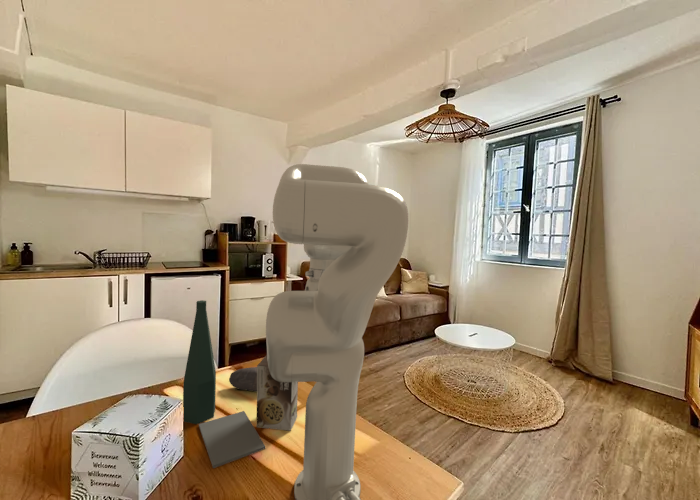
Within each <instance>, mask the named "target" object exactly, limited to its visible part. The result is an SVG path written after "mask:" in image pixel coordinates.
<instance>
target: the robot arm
mask: <svg viewBox="0 0 700 500" xmlns="http://www.w3.org/2000/svg"><path fill="white" fill-rule="evenodd" d="M272 221H273V226H274V230H275V232H276V235H277V236H278V237H279V238H280V240H282V241H284V242H286V243H288V244H294V245H303V250H304V253H305V254H306V255H307V257H309V258H310V259H309V260H310V261H309V269H308V270H307V271H305V277H308V278H309V279H307V281H306V282H305V283H306V284H305V286H304V287H305V289H304V290H286V291H282V292H280V293H278V294H276V295H275V296H273V298H272V300H270V303H269V306H268V307H267V308H268V309H267V312H266V319H265V339H266V341H265V342H266V355H267V360H268V368H269V371H270V374H271V376H272V377H273V378H274V379H275V380H276V381H279V382H291V379H292V382H298V383H306V382H310V383H311V382H315V384H313V385H314V386H312V388H311V390H310V392H309V394H308V395H307V398H306V401H305V402H306V403H305V414H304V416H305V418H304V419H305V420H304V444H303V447H304V448H303V468H302V470H301V471H300V472H299V474H298V475H297V476H296V478H295V481H294V486H293V487H294V489H293V490H294V491H293V493H294V494H293V495H294V500H362V499H361V498H360V497H361V487H362V486H361V481H360V478H359V476H358V474H357V473H356V472H355V471H354V466H355V465H354V464H355V463H354V462H355V461H354V460H355V446H356V445H355V444H356V443H355V440H356V422H357V404H358V402H357V401H358V394H359V393H358V391H359V384H360V377H361V373H362V369H363V364H364V357H365V343H364V339H363V336H364V334H365V332H366V329H367V326H368V324H369V320H370V318H371V313H372V311H373V308H374V306H375V303H376V302H375V301H376V299H377V296H378V295H379V293H380V292H381V290H382V289H383V288H384V286H385V284H386V283H387V281H388V280H389V279H390V277H391V276H392V274H393V273H394V271H395V270H396V268H397V265H398V264H399V262H400V260H401V257H402V255H403V253H404V250H405V246H406V243H407V242H406V241H407V237H408V232H409V231H408V229H409V210H408V206H407V204H406V201H405V199H404V198H403V196H401V195H400V194H399V193H397V192H396V191H394V190H393V189H390V188H387V187H384V186H379V185H375V184H369V182H368V179H367V178H366V177H365V176H364V175H363V174H362V173H361V172H359V171H357V170H355V169H353V168H349V167H344V166H343V167H341V166H332V165H331V166H330V165H321V164H320V165H319V164H306V163H305V164H304V163H298V164H293V165H291V166H289V167H287V168H286V169H285V171H284V172H283V174H282V175H281V177H280V180H279V183H278V186H277V188H276V190H275V194H274V199H273V204H272Z"/></svg>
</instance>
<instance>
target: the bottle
mask: <svg viewBox="0 0 700 500" xmlns="http://www.w3.org/2000/svg"><path fill="white" fill-rule="evenodd" d="M195 305H196V307H195V308H196V310H195V315H194V316H195V317H194V322H193V329H192V333H191V339H190V344H189V350H188V354H187V360H186V367H185V372H184V376H183V384H182V386H183V388H182V391H183V393H182V396H183V398H182V408H183V407H184V423H189V424H193V425H199V424H201V423H204V422H207V421H210V420H212V419H214V418H215V417H214V416H215V413H216V412H215V411H216V387H217V386H216V384H217V382H216V381H217V371H216V365H215V358H214V352H213V344H212V339H211V332H210V326H209V320H208V313H207V300H196V303H195Z"/></svg>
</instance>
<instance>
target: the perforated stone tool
mask: <svg viewBox="0 0 700 500" xmlns="http://www.w3.org/2000/svg"><path fill="white" fill-rule="evenodd" d="M228 379H229V381H228V382H229V384H230V385H231V386H232V387H234V388H236V389H238V390H244V391H245V390H246V391H249V392H256V393H257V366H253V367H252V366H251V367H245V368H244V367H243V368H239V369H236V370H235V371H233V372H232V373H230V376H229V378H228Z"/></svg>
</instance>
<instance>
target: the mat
mask: <svg viewBox="0 0 700 500" xmlns="http://www.w3.org/2000/svg"><path fill="white" fill-rule="evenodd" d="M198 428H199V431H200V433H201V434H200V435H201V436H202V440H203V442H204V445H205V448H206V451H207V454H208V458H209V460H210V462H211V467H212V468H213V469H216V468H217V467H221V466H224V465H226V464H229V463H231V462H234V461H237V460H240V459H242V458H245V457H247V456H251V455H253V454H255V453H258V452H261V451H263V450H266V447H267V446H266V444H265V442H263V440H262V437H260V435H259V433H258V431H257V430H256V427H255V426H254V425H253V423H252V422H251V420H250V418H249V417H248V415H247V413H246V412H245V411H244V410H243V411H240V412H235V413H232V414H230V415H226V416H222V417H218V418H215V419H210V420H207V421H204V422H202V423H199V424H198Z"/></svg>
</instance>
